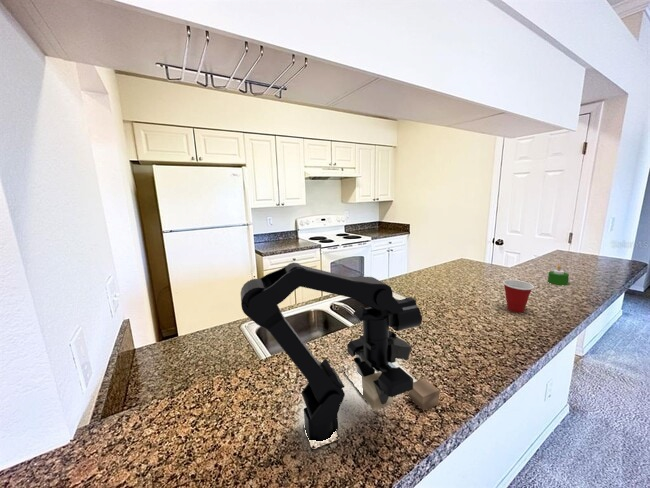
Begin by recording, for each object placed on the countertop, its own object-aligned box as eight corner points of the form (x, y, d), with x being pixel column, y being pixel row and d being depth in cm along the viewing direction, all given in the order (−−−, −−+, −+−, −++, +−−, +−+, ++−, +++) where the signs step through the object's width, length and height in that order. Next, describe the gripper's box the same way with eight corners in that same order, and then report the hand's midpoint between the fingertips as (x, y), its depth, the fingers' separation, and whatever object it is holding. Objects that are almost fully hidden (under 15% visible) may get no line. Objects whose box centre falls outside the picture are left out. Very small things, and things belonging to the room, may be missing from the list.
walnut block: (422, 411, 65) (423, 396, 65) (408, 398, 70) (408, 384, 69) (438, 404, 67) (438, 390, 67) (424, 392, 72) (424, 378, 71)
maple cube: (374, 410, 61) (373, 390, 60) (362, 396, 65) (362, 377, 65) (392, 403, 63) (392, 384, 62) (380, 390, 67) (380, 371, 66)
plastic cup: (524, 317, 110) (526, 289, 108) (496, 309, 119) (497, 282, 117) (537, 311, 115) (539, 283, 113) (509, 303, 124) (510, 277, 122)
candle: (544, 282, 150) (545, 264, 148) (554, 280, 152) (556, 262, 150) (560, 286, 142) (562, 267, 140) (571, 284, 144) (573, 265, 143)
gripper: (434, 344, 56) (433, 412, 58) (382, 311, 73) (383, 364, 75) (389, 359, 52) (390, 431, 54) (345, 320, 69) (347, 376, 71)
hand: (377, 395), depth 64 cm, fingers closed on maple cube, 5 cm apart
